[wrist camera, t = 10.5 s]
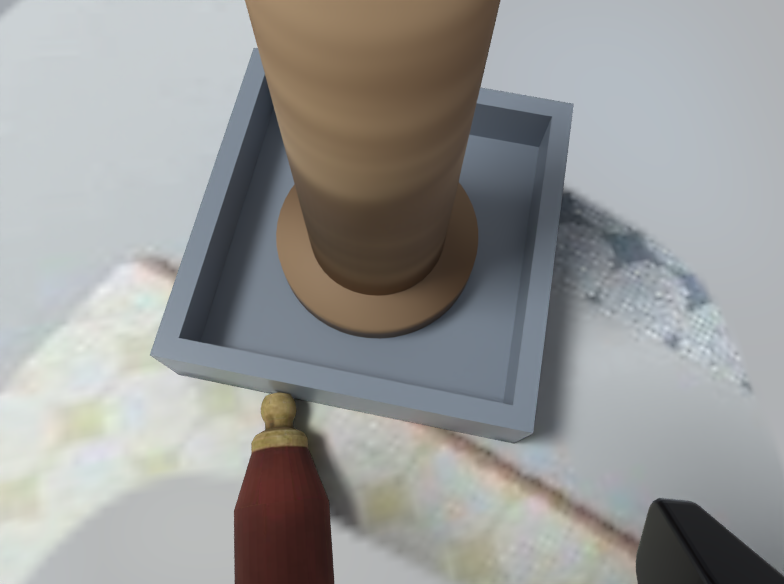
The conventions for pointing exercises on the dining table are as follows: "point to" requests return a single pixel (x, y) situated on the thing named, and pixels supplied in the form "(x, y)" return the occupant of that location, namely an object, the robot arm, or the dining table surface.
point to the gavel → (282, 507)
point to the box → (372, 355)
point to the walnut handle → (375, 153)
